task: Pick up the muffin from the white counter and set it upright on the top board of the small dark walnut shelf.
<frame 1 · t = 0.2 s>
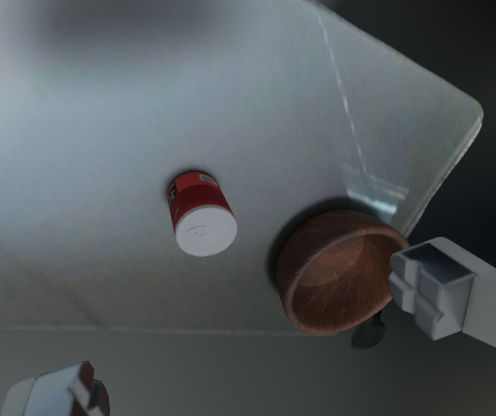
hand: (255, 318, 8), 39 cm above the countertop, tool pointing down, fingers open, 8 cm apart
wooden bowl: (322, 250, 66), on the countertop
canned food: (193, 191, 50), on the countertop
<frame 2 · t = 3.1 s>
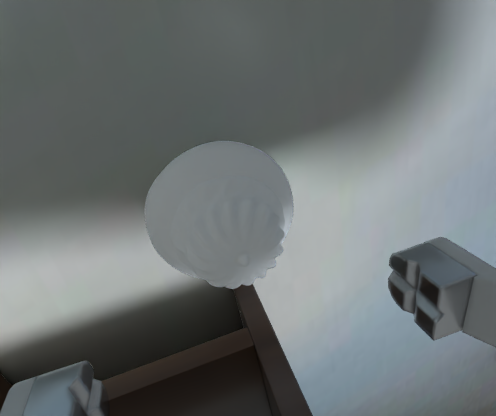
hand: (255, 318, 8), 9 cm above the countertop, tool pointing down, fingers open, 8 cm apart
muffin: (207, 181, 17), on the countertop
shelf: (151, 378, 22), on the countertop
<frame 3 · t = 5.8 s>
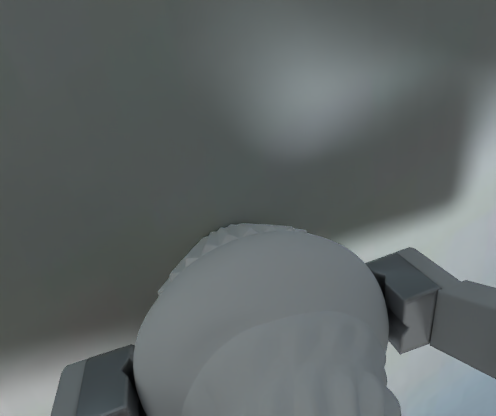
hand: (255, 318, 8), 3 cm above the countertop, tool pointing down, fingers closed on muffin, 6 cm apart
muffin: (232, 262, 11), on the countertop, touching gripper
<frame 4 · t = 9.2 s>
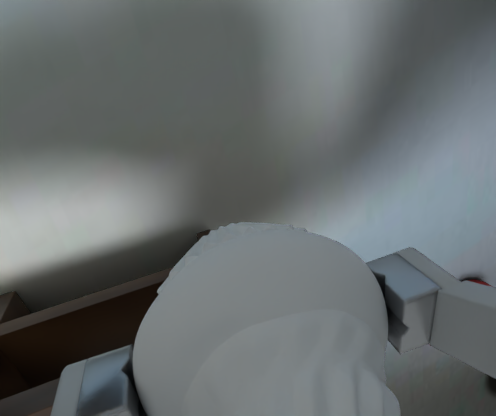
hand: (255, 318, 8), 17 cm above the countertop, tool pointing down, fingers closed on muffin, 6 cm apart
muffin: (231, 260, 11), point 14 cm above the countertop, touching gripper
shelf: (134, 310, 27), on the countertop
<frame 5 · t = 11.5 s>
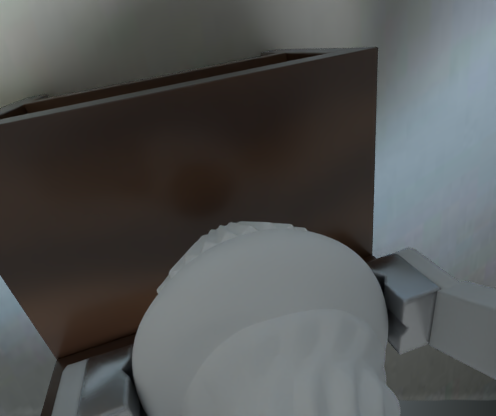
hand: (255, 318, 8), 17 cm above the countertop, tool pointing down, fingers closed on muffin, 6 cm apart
muffin: (231, 260, 11), point 14 cm above the countertop, touching gripper
shelf: (182, 153, 23), on the countertop
when the fingers open (13 cm above the countertop, at t = 12.9 s): muffin stays where it is, resting on shelf.
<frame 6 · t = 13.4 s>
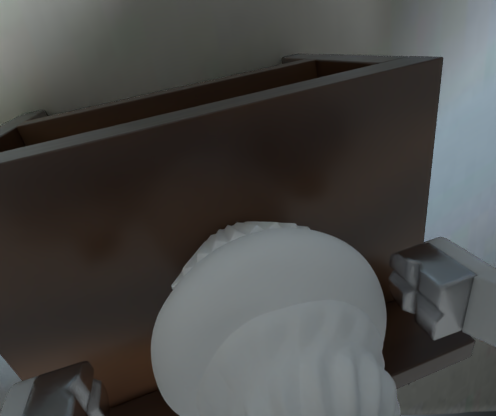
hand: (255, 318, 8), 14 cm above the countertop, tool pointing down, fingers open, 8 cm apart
muffin: (238, 258, 12), point 11 cm above the countertop, touching shelf
shelf: (194, 170, 21), on the countertop
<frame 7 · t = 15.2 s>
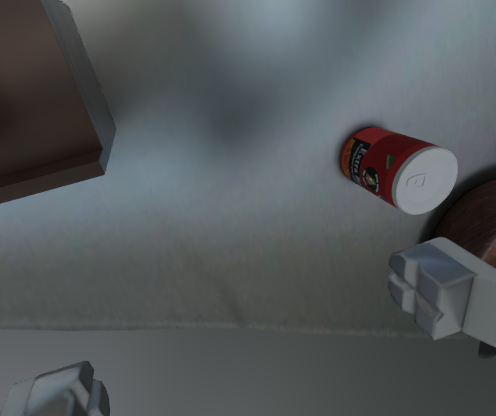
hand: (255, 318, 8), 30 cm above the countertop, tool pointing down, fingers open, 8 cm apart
shelf: (3, 93, 29), on the countertop
wooden bowl: (473, 231, 58), on the countertop
canned food: (363, 154, 44), on the countertop
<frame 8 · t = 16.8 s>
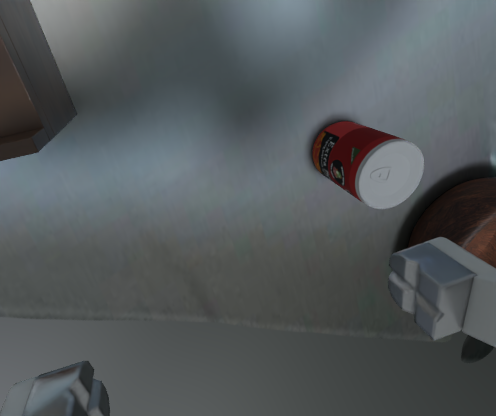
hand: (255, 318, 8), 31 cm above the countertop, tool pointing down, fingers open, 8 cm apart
wooden bowl: (453, 231, 57), on the countertop
canned food: (336, 148, 43), on the countertop
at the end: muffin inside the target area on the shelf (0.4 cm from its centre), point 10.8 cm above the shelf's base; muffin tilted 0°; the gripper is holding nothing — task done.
